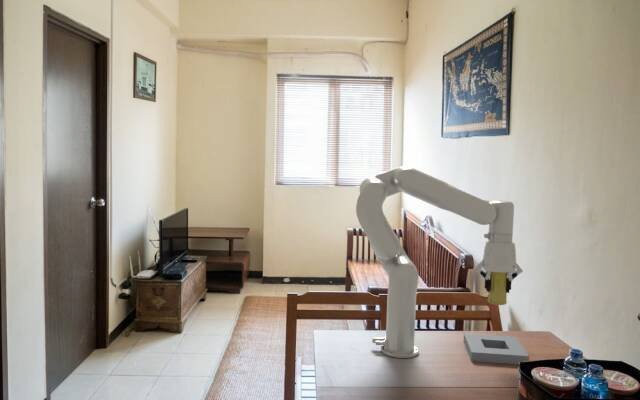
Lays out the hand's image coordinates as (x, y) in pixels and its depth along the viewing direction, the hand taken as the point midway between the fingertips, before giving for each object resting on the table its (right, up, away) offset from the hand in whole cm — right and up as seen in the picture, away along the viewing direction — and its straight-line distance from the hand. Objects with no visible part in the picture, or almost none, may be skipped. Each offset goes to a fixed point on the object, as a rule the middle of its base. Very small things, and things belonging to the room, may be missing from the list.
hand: (497, 290), depth 184 cm
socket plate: (0, -21, +3) cm, 22 cm away
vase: (0, -4, 0) cm, 4 cm away
